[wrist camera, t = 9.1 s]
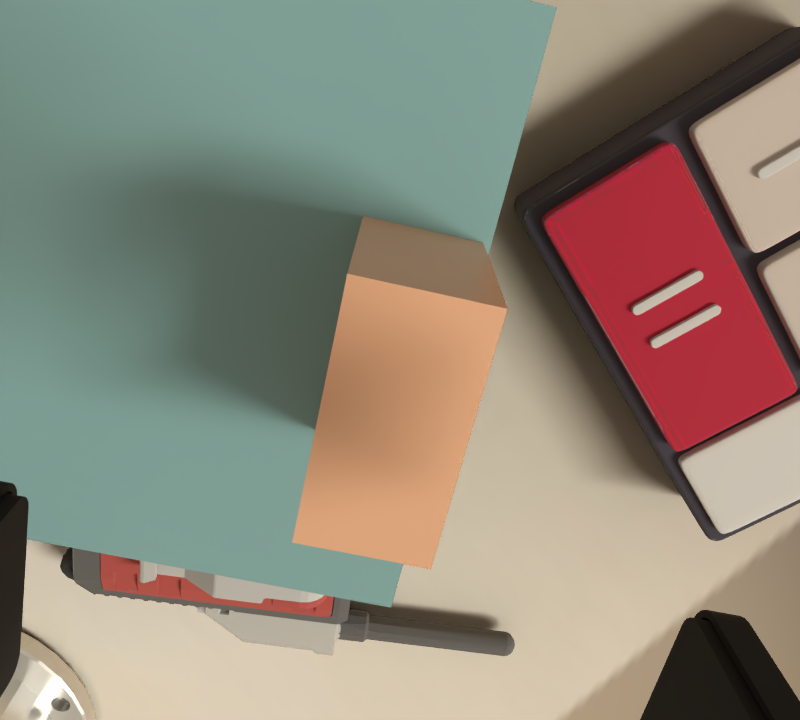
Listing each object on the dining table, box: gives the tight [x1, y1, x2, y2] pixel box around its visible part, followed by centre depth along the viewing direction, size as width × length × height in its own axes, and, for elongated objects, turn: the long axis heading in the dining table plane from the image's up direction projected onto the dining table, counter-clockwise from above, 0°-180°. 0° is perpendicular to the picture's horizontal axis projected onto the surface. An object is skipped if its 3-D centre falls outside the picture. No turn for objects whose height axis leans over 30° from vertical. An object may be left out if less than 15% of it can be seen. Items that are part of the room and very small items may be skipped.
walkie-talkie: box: [60, 547, 515, 656], centre depth 32 cm, size 9×4×20 cm
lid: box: [0, 0, 557, 608], centre depth 17 cm, size 17×20×6 cm
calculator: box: [514, 27, 800, 541], centre depth 27 cm, size 11×4×15 cm
